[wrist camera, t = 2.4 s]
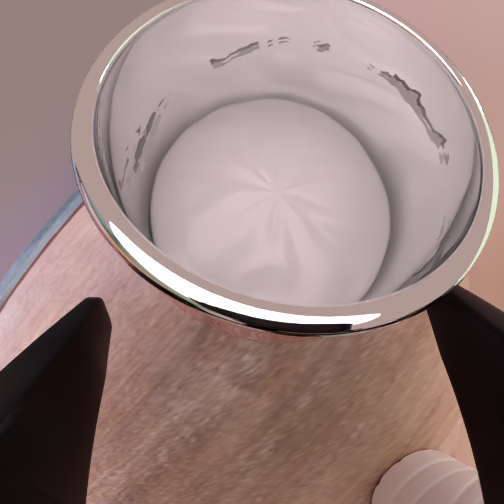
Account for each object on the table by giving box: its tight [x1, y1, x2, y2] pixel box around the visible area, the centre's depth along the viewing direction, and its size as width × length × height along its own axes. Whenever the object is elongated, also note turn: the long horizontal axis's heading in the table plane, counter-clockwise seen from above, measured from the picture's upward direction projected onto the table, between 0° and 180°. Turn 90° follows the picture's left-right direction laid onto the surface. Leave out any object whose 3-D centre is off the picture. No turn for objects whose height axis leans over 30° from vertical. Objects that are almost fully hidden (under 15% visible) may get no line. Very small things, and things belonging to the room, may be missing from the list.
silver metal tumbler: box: [71, 0, 499, 343], centre depth 11 cm, size 7×7×15 cm
